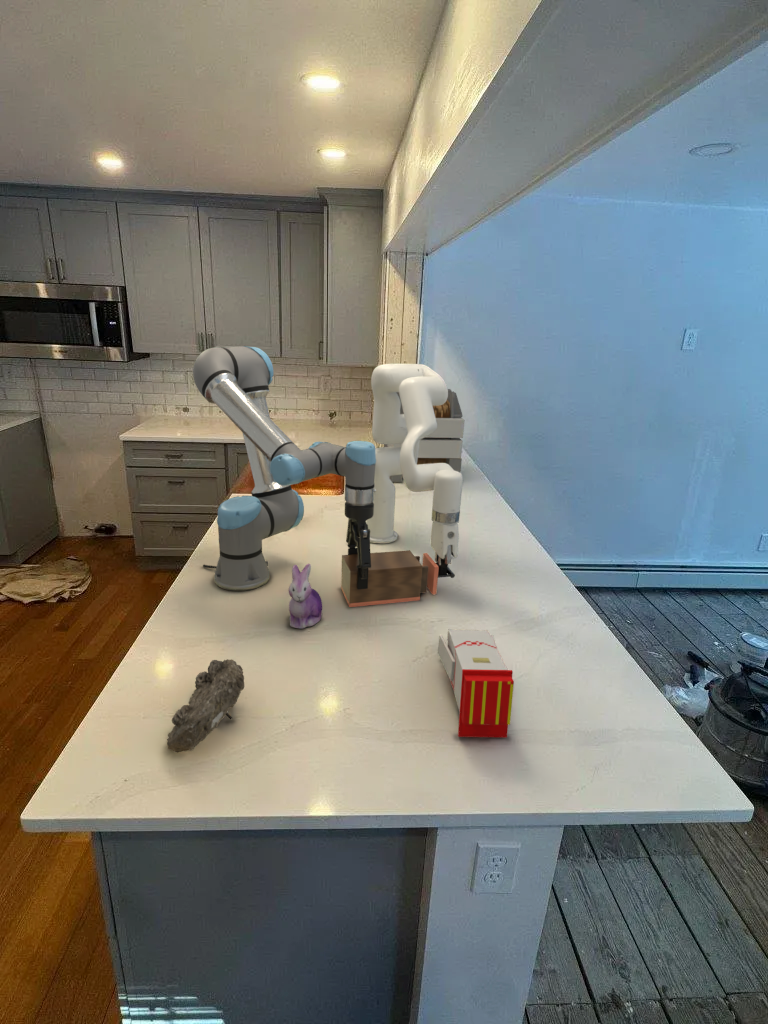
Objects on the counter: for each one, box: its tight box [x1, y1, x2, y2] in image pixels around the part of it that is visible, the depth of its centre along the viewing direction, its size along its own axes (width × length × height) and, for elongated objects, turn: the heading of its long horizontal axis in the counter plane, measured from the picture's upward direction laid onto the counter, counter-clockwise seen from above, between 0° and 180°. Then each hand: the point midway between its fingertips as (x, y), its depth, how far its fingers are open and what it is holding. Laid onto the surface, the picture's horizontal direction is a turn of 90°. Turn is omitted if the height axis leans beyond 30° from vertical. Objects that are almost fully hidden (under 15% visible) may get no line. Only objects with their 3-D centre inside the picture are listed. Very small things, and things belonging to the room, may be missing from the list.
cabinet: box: [340, 549, 422, 608], centre depth 155 cm, size 20×11×10 cm, turn 106°
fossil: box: [166, 658, 245, 754], centre depth 106 cm, size 22×10×15 cm
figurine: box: [288, 563, 323, 629], centre depth 140 cm, size 9×10×15 cm
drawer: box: [414, 552, 456, 595], centre depth 158 cm, size 24×9×8 cm, turn 106°
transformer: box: [383, 388, 465, 483], centre depth 268 cm, size 34×33×41 cm
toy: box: [437, 628, 515, 738], centre depth 117 cm, size 12×13×30 cm
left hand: (357, 578), depth 153 cm, fingers closed on cabinet, 11 cm apart
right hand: (440, 576), depth 161 cm, fingers closed
